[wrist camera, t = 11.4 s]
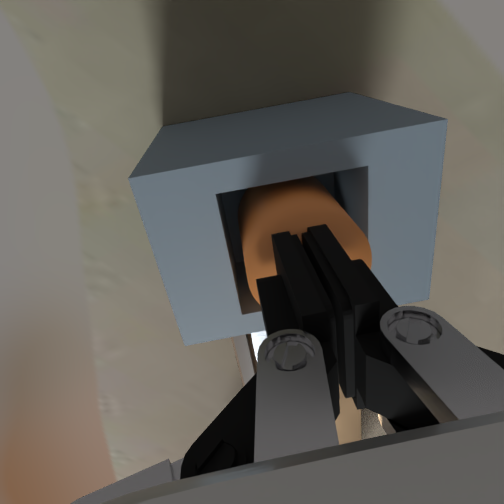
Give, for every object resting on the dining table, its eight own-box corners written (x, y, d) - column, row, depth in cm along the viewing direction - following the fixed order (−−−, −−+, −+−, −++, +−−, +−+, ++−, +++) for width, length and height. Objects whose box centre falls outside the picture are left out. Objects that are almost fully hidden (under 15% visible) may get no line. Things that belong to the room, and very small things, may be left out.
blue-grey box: (349, 92, 19) (447, 119, 11) (352, 213, 22) (429, 299, 15) (154, 128, 19) (115, 180, 11) (187, 244, 22) (174, 347, 14)
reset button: (328, 160, 14) (372, 200, 10) (332, 247, 16) (371, 308, 12) (229, 178, 14) (236, 225, 10) (246, 263, 16) (257, 330, 12)
